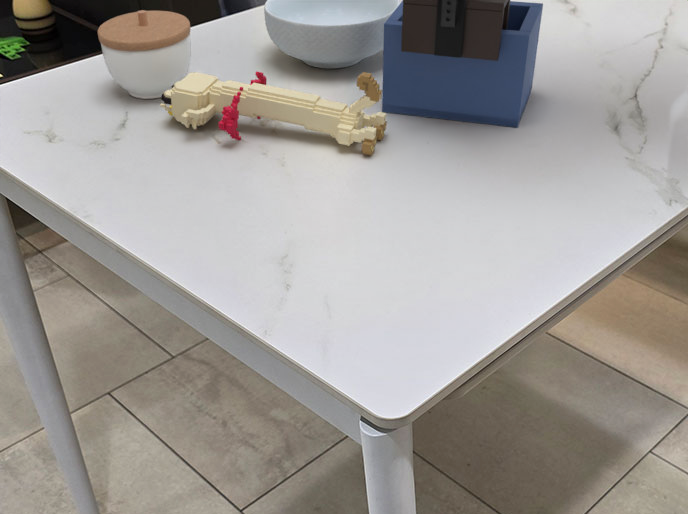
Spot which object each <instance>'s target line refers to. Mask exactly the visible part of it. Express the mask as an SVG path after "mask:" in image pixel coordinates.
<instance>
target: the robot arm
mask: <svg viewBox="0 0 688 514" xmlns="http://www.w3.org/2000/svg"><path fill="white" fill-rule="evenodd" d="M466 2H467V0H438V3H437V19H436V35H435V50H434V55H437V56H447V57H457V58H461V56H462V49H463V37H464V25H465V14H466Z"/></svg>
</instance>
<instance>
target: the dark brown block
mask: <svg viewBox="0 0 688 514" xmlns="http://www.w3.org/2000/svg"><path fill="white" fill-rule="evenodd" d="M402 1H403V15H402V41H401V51H402V52H412V53H422V54H433V55H434V50H435V35H436V19H437V3H438V0H402ZM510 1H511V0H467V2H466V14H465V25H464V37H463V49H462V56H461V57H463V58H473V59H483V60H493V61H498V59H499V53H500V44H501V35H502V30H507V26H508V17H509V8H510Z"/></svg>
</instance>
